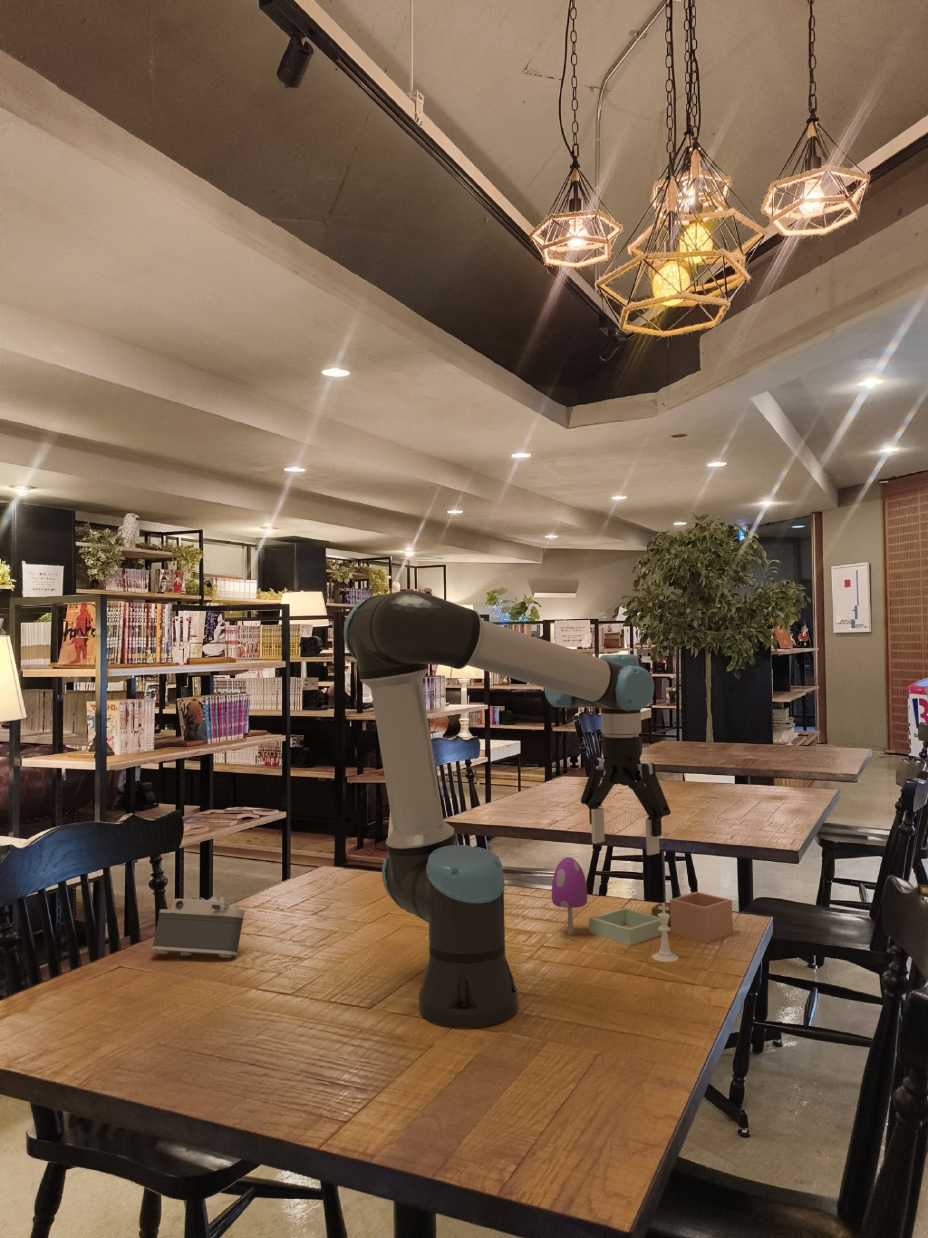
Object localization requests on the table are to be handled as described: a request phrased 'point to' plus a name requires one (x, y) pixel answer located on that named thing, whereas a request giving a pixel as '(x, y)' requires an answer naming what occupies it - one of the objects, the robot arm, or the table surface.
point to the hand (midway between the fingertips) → (624, 848)
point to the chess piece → (664, 938)
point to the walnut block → (656, 911)
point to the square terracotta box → (701, 917)
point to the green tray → (611, 928)
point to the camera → (199, 928)
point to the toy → (569, 887)
